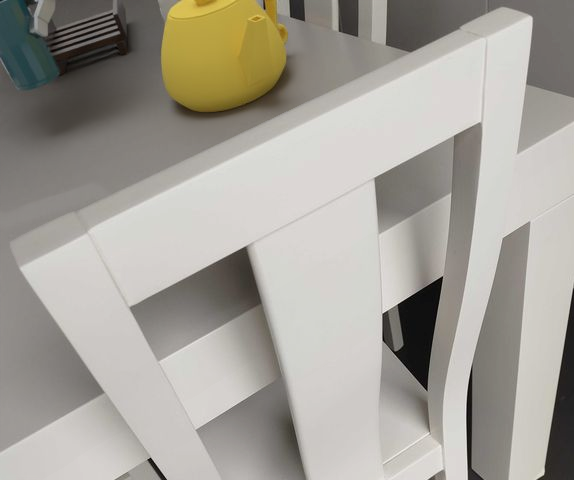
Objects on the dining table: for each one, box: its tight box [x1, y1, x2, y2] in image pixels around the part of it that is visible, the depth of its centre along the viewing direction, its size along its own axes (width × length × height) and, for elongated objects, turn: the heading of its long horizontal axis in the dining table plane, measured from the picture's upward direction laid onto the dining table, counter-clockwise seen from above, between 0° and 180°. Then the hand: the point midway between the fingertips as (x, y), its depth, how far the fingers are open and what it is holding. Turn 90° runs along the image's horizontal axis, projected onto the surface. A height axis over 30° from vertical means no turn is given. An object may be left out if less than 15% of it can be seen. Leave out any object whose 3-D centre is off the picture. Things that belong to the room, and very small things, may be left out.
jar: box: [157, 0, 182, 24], centre depth 90 cm, size 9×8×12 cm
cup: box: [0, 0, 60, 92], centre depth 76 cm, size 6×6×10 cm
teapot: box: [160, 0, 289, 113], centre depth 75 cm, size 20×19×13 cm
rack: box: [44, 0, 129, 77], centre depth 103 cm, size 14×17×6 cm
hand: (13, 39), depth 75 cm, fingers closed on cup, 6 cm apart
